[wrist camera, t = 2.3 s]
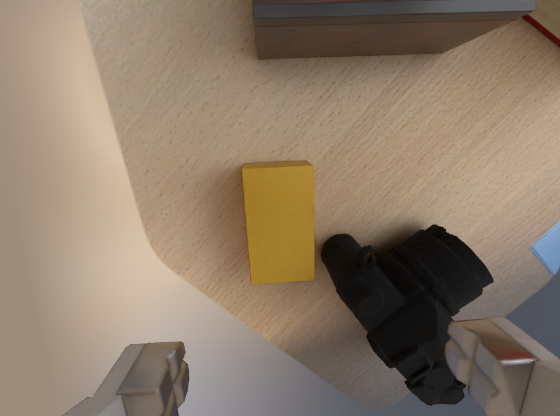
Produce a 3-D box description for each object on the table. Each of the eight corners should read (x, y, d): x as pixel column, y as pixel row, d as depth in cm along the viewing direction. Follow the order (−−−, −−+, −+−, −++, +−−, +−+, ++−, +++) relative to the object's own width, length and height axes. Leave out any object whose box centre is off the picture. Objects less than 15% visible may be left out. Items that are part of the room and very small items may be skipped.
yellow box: (253, 263, 24) (250, 284, 20) (245, 163, 21) (241, 168, 18) (307, 259, 24) (314, 280, 20) (306, 160, 21) (314, 164, 18)
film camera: (474, 295, 26) (579, 376, 17) (393, 349, 27) (453, 449, 18) (394, 178, 22) (477, 206, 14) (304, 246, 23) (328, 312, 15)
